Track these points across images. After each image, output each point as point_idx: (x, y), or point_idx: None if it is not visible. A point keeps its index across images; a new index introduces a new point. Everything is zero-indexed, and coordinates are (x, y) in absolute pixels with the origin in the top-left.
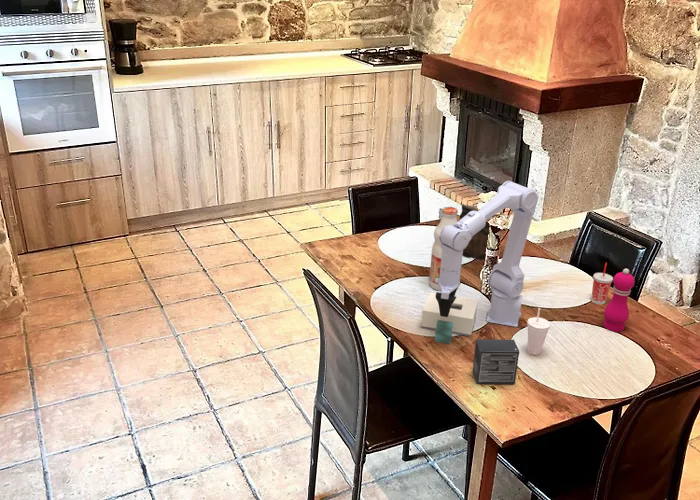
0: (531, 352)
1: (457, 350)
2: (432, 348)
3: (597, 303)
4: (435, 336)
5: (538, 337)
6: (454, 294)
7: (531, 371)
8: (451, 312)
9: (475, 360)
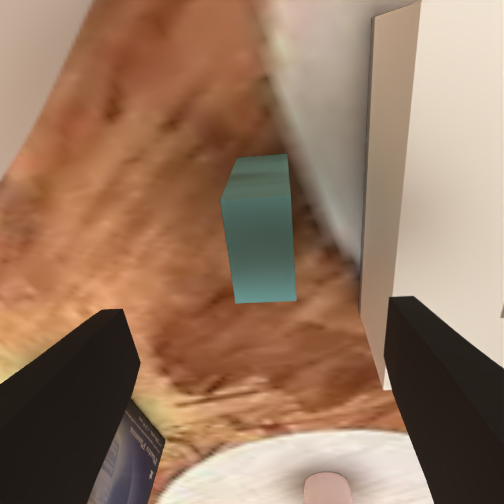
0: (305, 487)
1: (207, 279)
2: (159, 165)
3: None
4: (234, 168)
5: None
6: (434, 493)
7: (204, 482)
8: (443, 265)
9: None
